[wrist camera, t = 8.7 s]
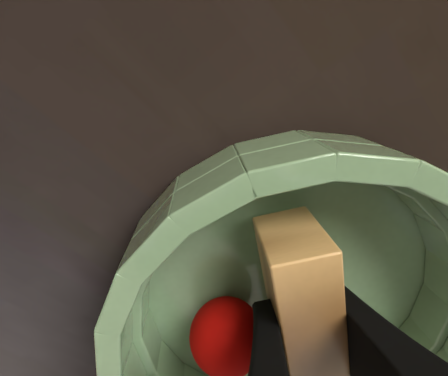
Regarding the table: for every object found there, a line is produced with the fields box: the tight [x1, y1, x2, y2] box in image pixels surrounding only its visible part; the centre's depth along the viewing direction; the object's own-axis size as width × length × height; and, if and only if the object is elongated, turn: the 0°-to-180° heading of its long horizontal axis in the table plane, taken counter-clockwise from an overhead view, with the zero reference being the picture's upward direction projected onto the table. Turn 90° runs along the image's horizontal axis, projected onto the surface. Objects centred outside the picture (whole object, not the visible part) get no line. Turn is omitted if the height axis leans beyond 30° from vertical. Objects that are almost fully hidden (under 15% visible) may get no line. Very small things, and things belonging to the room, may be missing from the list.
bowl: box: [94, 130, 448, 376], centre depth 12 cm, size 15×15×4 cm
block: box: [252, 206, 350, 376], centre depth 10 cm, size 7×2×3 cm, turn 12°
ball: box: [189, 296, 253, 376], centre depth 12 cm, size 3×3×3 cm
